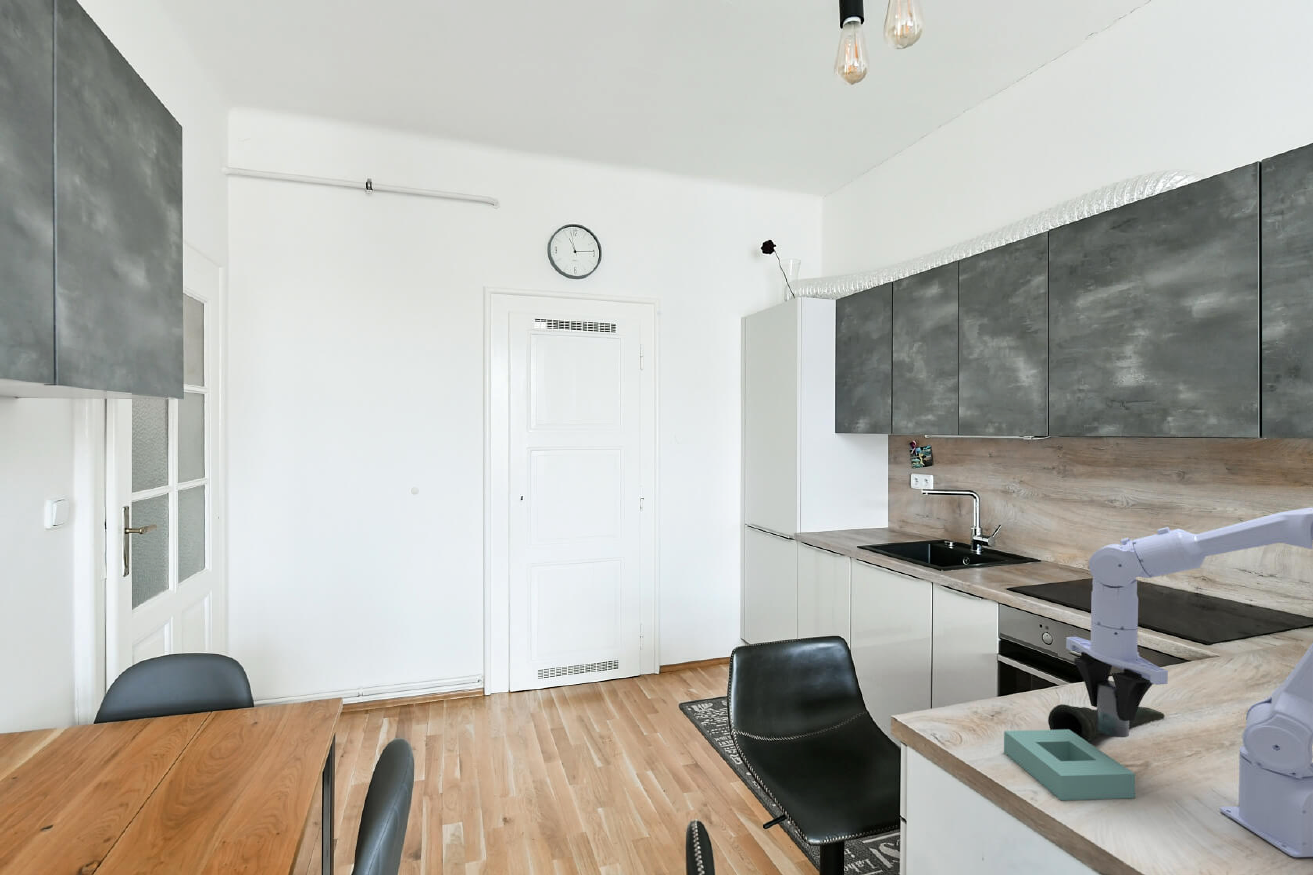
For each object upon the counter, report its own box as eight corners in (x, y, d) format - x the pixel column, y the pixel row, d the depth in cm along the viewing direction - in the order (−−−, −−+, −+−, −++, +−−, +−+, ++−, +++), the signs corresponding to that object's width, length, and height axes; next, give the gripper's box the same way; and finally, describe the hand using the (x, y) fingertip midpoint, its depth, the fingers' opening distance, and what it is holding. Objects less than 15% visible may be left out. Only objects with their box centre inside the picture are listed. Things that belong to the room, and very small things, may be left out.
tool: (1083, 756, 99) (1083, 716, 99) (1045, 737, 106) (1046, 699, 105) (1190, 729, 109) (1191, 692, 109) (1150, 712, 115) (1151, 677, 115)
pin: (1135, 735, 92) (1136, 689, 92) (1114, 738, 91) (1115, 691, 91) (1110, 723, 96) (1111, 679, 96) (1089, 725, 95) (1090, 680, 95)
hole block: (1134, 797, 88) (1135, 773, 88) (1060, 800, 87) (1061, 775, 87) (1068, 750, 101) (1068, 729, 101) (1004, 752, 100) (1004, 730, 100)
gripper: (1185, 638, 87) (1183, 732, 88) (1091, 608, 101) (1089, 690, 102) (1146, 641, 86) (1144, 737, 86) (1056, 611, 100) (1054, 694, 100)
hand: (1112, 712), depth 94 cm, fingers closed on pin, 4 cm apart
